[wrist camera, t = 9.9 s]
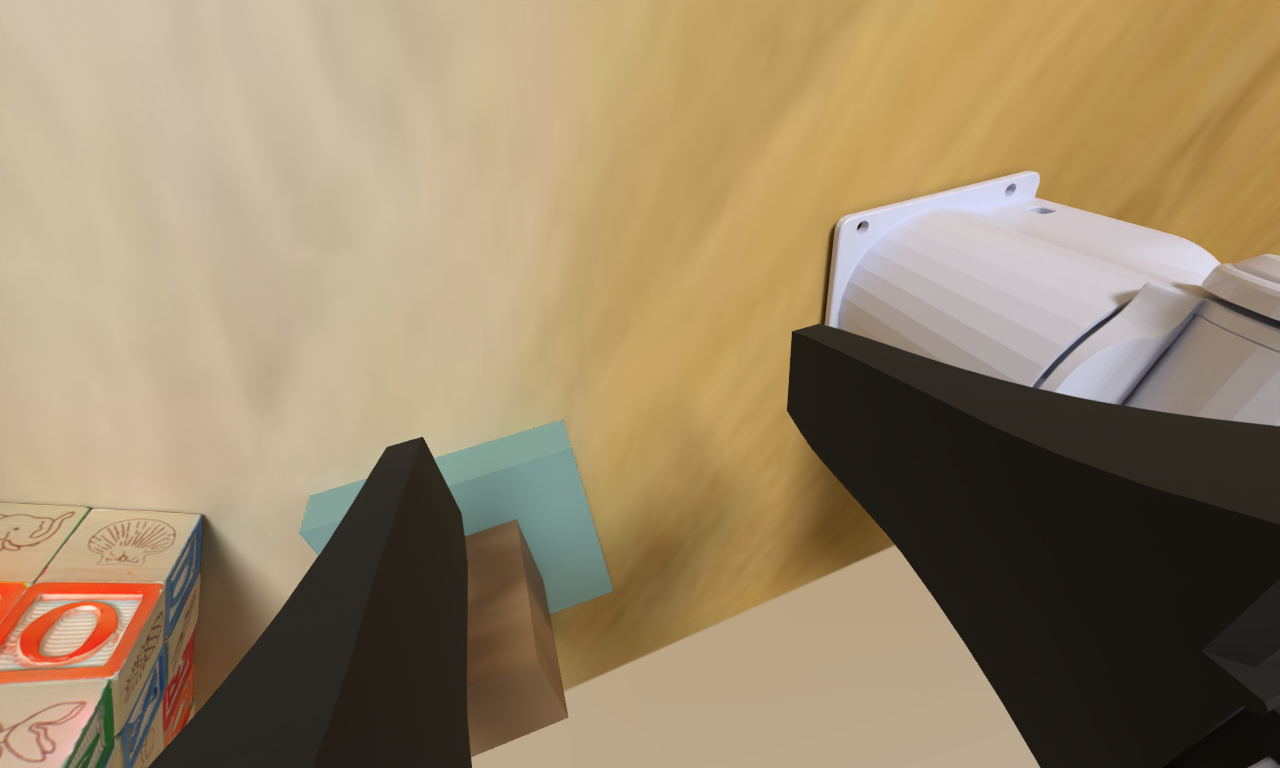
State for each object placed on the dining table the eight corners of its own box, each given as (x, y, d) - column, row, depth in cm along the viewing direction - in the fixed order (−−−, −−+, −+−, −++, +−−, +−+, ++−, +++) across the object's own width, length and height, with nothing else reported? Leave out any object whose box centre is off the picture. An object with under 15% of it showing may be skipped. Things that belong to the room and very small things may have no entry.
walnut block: (516, 519, 21) (537, 660, 16) (543, 581, 24) (568, 717, 19) (404, 556, 20) (392, 715, 15) (445, 616, 23) (445, 767, 18)
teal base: (560, 410, 22) (571, 447, 20) (601, 551, 28) (613, 591, 26) (314, 484, 20) (299, 532, 18) (414, 617, 26) (411, 665, 24)
